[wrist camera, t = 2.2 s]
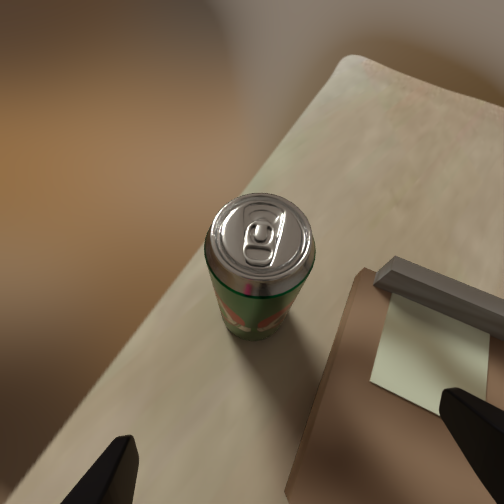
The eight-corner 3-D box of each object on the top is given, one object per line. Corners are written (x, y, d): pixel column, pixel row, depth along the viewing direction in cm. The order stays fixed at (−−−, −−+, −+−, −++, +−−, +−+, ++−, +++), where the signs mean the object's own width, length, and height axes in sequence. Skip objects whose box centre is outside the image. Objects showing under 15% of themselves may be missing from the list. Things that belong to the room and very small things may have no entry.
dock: (488, 615, 15) (596, 714, 10) (284, 491, 17) (299, 527, 12) (501, 339, 21) (569, 326, 17) (355, 276, 23) (381, 250, 19)
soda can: (285, 284, 23) (321, 191, 12) (281, 345, 21) (322, 297, 10) (226, 277, 23) (212, 180, 12) (216, 338, 21) (188, 282, 10)
